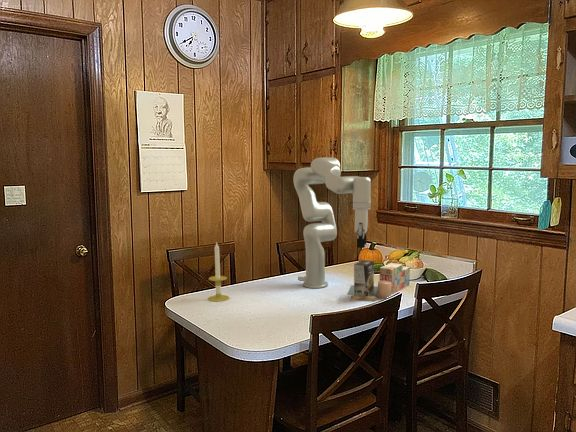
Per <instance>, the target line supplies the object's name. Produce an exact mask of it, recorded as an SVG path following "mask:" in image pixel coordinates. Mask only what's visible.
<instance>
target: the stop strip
mask: <svg viewBox="0 0 576 432" xmlns="http://www.w3.org/2000/svg"><path fill="white" fill-rule="evenodd" d="M350 301H364V302H365V301H369V302H376V296H371V297H367V296H354V295H350Z"/></svg>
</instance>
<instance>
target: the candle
mask: <svg viewBox="0 0 576 432" xmlns="http://www.w3.org/2000/svg"><path fill="white" fill-rule="evenodd" d="M220 258H221V257H220V246H219V245H218V242H215V246H214V268H215V270H214V271H215V275H213V276H210V277H209V278H208V281H211V282H215V295H211V296H209V297H208V298H207V300H208V301H210V302H216V303H218V302H220V303H221V302H226V301H228V300H229V299H230V296H228V295H226V294H222V281H225V280H226V281H227V279H228V277H227V276H225V275H221V262H220V261H221V260H220Z"/></svg>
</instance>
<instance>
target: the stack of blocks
mask: <svg viewBox="0 0 576 432" xmlns="http://www.w3.org/2000/svg"><path fill="white" fill-rule="evenodd" d="M410 272H411V267H410V266H404V265H403V264H401V263H394V262H390V263H388V264H386V265H383V266H380V268H379V281H380V280H387V281H390V282H391V295H393V294H394V293H397V292H399V291H400V290H402V289H404V288H406V287H408V286H409V285H410V275H411V273H410Z"/></svg>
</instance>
